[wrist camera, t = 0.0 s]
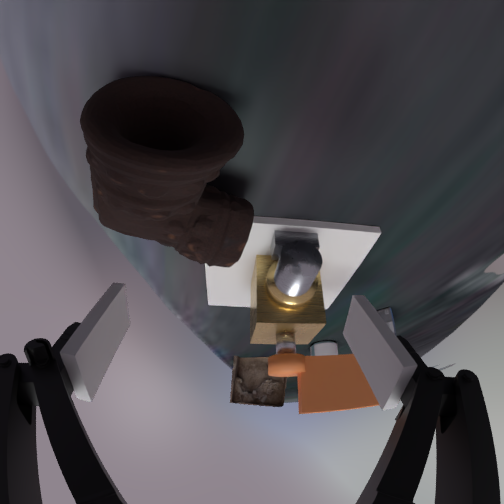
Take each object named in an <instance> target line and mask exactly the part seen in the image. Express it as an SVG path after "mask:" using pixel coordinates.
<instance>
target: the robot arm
mask: <svg viewBox="0 0 504 504" xmlns="http://www.w3.org/2000/svg"><path fill="white" fill-rule="evenodd" d="M129 326H130V318H129V311H128V303H127V295H126V286H125V284H121V283H113V284H112V285H111V286H110V287H109V289H108V290H107V291H106V292H105V293H104V295H103V296H102V297H101V298H100V300H99V301H98V302H97V303H96V305H95V306H94V307H93V309H92V310H91V311H90V312H89V314H88V315H87V316H86V318H85V319H84V320H83V322H82V323H78V322H75V323H74V324H72V325H70V326H69V327H67V329H66V330H65V331H64V333H63V334H62V335H61V336H60V338H59V339H58V340H57V341H56V343H55V344H54V345H53V347H51V344H50V342H49V341H48V340H46V339H43V338H39V339H34V340H31V341H29V342H28V343H27V344H26V345H25V347H24V352H25V355H26V357H27V360H28V362H29V363H18V361H17V358H16V357H15V356H14V355H13V354H3V355H0V504H42V499H41V492H40V484H39V475H38V465H37V450H36V406H39V407H40V411H41V414H42V418H43V421H44V424H45V428H46V431H47V434H48V437H49V440H50V443H51V446H52V448H53V451H54V453H55V456H56V459H57V461H58V464H59V466H60V469H61V471H62V474H63V476H64V478H65V480H66V482H67V485H68V487H69V489H70V491H71V493H72V495H73V497H74V499H75V501H76V504H127V503H126V501H125V500H124V498H123V497H122V495H121V494H120V492H119V491H118V489H117V488H116V486H115V484H114V483H113V481H112V479H111V478H110V476H109V474H108V473H107V471H106V469H105V468H104V466H103V464H102V462H101V460H100V458H99V456H98V455H97V453H96V451H95V449H94V447H93V445H92V443H91V441H90V439H89V437H88V435H87V433H86V431H85V428H84V426H83V424H82V422H81V420H80V417H79V415H78V413H77V410H76V408H75V406H74V403H73V401H72V399H71V394H72V392H73V390H74V392H75V394H76V397H77V399H81V400H85V401H89V402H92V400H93V398H94V396H95V394H96V392H97V390H98V387H99V385H100V383H101V381H102V379H103V377H104V375H105V373H106V371H107V369H108V367H109V365H110V363H111V361H112V359H113V357H114V355H115V353H116V351H117V349H118V347H119V345H120V343H121V341H122V339H123V337H124V336H125V333H126V332H127V330H128V328H129ZM343 335H344V337H345V339H346V341H347V343H348V345H349V346H350V348H351V350H352V352H353V354H354V356H355V358H356V360H357V362H358V364H359V365H360V367H361V369H362V371H363V373H364V375H365V377H366V379H367V381H368V383H369V385H370V387H371V389H372V391H373V393H374V395H375V397H376V399H377V401H378V403H379V405H380V407H381V409H382V410H388V409H393V408H396V406H397V404H398V403H399V401H400V399H401V401H402V403H403V407H402V409H401V410H400V412H399V414H398V415H397V417H396V418H395V420H397V421H396V423H395V426H394V428H393V430H392V433H391V435H390V437H389V440H388V442H387V445H386V447H385V449H384V451H383V453H382V455H381V457H380V459H379V461H378V464H377V466H376V468H375V470H374V471H373V473H372V475H371V477H370V479H369V481H368V483H367V485H366V487H365V489H364V490H363V492H362V494H361V495H360V497H359V499H358V501H357V503H356V504H415V503H413V498H414V496H415V493H416V490H417V488H418V485H419V482H420V479H421V477H422V474H423V471H424V468H425V464H426V461H427V458H428V454H429V451H430V448H431V444H432V440H433V436H434V432H435V428H436V449H437V471H436V472H437V474H436V496H435V504H500V489H499V477H498V468H497V461H496V454H495V448H494V442H493V437H492V431H491V427H490V422H489V417H488V413H487V410H486V405H485V401H484V397H483V394H482V390H481V387H480V383H479V380H478V378H477V376H476V375H475V374H474V373H473V372H471V371H470V370H460V371H459V372H458V373H457V375H456V377H445V376H444V375H443V373H442V372H441V371H440V370H438V369H436V368H433V367H427V366H426V364H425V363H424V362H423V361H422V359H421V358H420V356H419V355H418V354H417V353H416V351H415V350H414V349H413V348H412V346H411V345H410V344H409V342H408V341H407V340H406V339H404V338H403V337H401V336H396V335H395V334H394V333H393V331H392V330H391V329H390V328H389V326H388V325H387V324H386V322H385V321H384V320H383V319H382V317H381V316H380V315H379V313H378V312H377V311H376V310H375V308H374V307H373V306H372V305H371V303H370V302H369V301H368V300H367V298H366V297H365V296H364V295H353V297H352V301H351V305H350V309H349V313H348V317H347V320H346V324H345V328H344V332H343Z"/></svg>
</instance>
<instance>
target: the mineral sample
mask: <svg viewBox="0 0 504 504" xmlns="http://www.w3.org/2000/svg"><path fill="white" fill-rule="evenodd" d="M233 361H234V365H233V366H234V368H233V369H232V383H231V384H232V385H231V400H230V403H239V404H248V405H259V406H273V407H282V406H283V404H284V397H285V388H286V382H287V377H274V376H269V375H268V357H256V358H240V357H238V356H234V360H233Z"/></svg>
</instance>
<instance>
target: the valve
mask: <svg viewBox="0 0 504 504" xmlns="http://www.w3.org/2000/svg"><path fill="white" fill-rule="evenodd" d="M319 248H320V246H319V240H318V233H307V232H293V231H279V230H275V231H274V235H273V239H272V243H271V255H256V260H255V265H254V270H253V275H252V281H251V307H250V343H251V344H276V355H277V354H284V353H296V344H308V343H309V342H310V341H311V340H312V339H313V338H314V337H315V336H316V335H317V333H318V332H319V331H320V330H321V329H322V328H323V327H324V326H325V324H326V317H325V308H324V299H323V291H322V283H321V275H320V269H321V266H322V256H321V254H320V252H319Z"/></svg>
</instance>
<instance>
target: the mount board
mask: <svg viewBox="0 0 504 504" xmlns="http://www.w3.org/2000/svg"><path fill="white" fill-rule="evenodd" d="M275 230H279V231H293V232H307V233H318V240H319V246H320V248H319V252H320V254H321V256H322V266H321V269H320V275H321V283H322V291H323V299H324V308H325V309H328V308H329V306H330V305H331V304H332V302H333V301H334V300H335V298H336V297H337V296H338V294H339V293H340V292H341V290H342V289H343V288H344V286H345V285H346V283H347V282H348V281H349V279H350V278H351V277H352V275H353V274H354V272H355V271H356V270H357V268H358V267H359V265H360V264H361V262H362V261H363V260H364V258H365V257H366V255H367V254H368V252H369V251H370V249H371V248H372V246H373V245H374V243H375V242H376V241H377V239H378V237H379V236H380V234H381V231H380V228H379V227H376V226H366V225H356V224H346V223H335V222H324V221H312V220H300V219H288V218H274V217H260V216H254V219H253V224H252V228H251V231H250V235H249V238H248V241H247V243H246V246H245V248H244V250H243V253H242V255H241V258H240V259H239V261H238V262H236V263H235V264H234V265H232V266H231V267H219V266H210V267H209V266H208V265H207V264H206V263H205V270H206V282H207V294H208V305H218V306H237V307H251V281H252V275H253V270H254V265H255V260H256V255H271V243H272V239H273V235H274V231H275Z"/></svg>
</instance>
